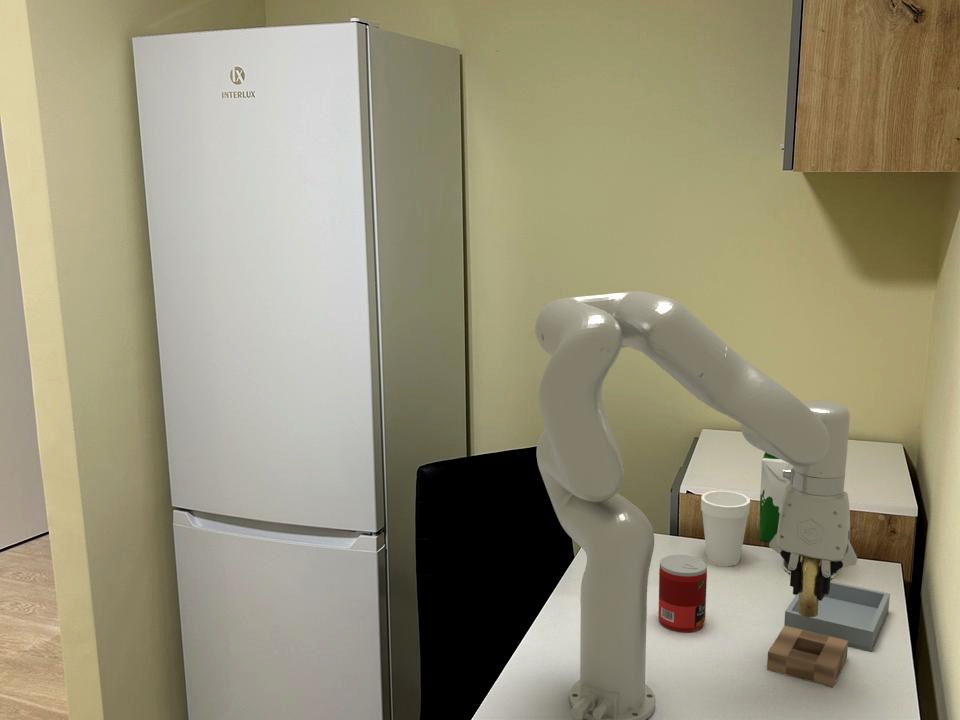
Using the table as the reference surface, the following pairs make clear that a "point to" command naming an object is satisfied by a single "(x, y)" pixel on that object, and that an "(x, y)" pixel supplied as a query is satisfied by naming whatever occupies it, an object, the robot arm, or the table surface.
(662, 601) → the canned food
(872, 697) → the table surface
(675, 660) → the table surface
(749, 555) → the table surface
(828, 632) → the pin tray
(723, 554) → the foam cup
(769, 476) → the milk carton
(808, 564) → the pin
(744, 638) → the table surface
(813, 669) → the pin bracket
